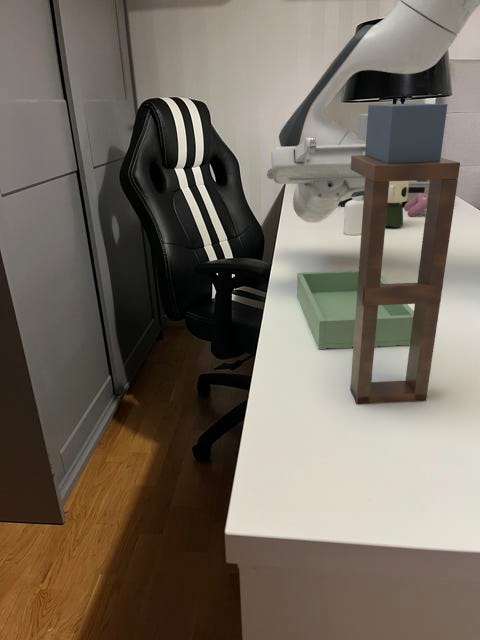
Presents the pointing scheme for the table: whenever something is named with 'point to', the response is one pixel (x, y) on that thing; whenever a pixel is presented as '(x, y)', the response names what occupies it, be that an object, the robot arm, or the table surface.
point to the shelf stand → (419, 293)
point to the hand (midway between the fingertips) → (343, 141)
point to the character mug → (396, 202)
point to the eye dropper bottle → (353, 216)
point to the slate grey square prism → (403, 132)
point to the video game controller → (416, 204)
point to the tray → (347, 311)
